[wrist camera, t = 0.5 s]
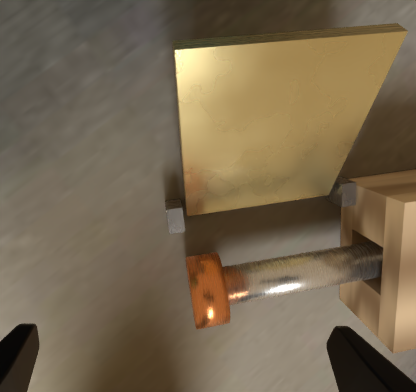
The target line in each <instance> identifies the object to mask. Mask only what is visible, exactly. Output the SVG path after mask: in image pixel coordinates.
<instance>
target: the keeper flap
mask: <svg viewBox="0 0 416 392" xmlns="http://www.w3.org/2000/svg"><path fill="white" fill-rule="evenodd" d="M407 32H408V31H407V30H406V29H404V28H403V27H402V26H400V25H399V24H398V23H395V24H382V25H369V26H356V27H343V28H331V29H318V30H305V31H292V32H279V33H267V34H254V35H241V36H228V37H215V38H203V39H190V40H177V41H172V43H173V55H174V68H175V80H176V93H177V105H178V118H179V130H180V143H181V156H182V168H183V181H184V193H185V206H186V212H187V216H192V215H199V214H206V213H212V212H219V211H226V210H232V209H239V208H246V207H252V206H259V205H266V204H272V203H279V202H286V201H292V200H299V199H306V198H312V197H319V196H326V195H329V193H330V191H331V189H332V187H333V185H334V183H335V181H336V179H337V176H338V174H339V172H340V170H341V168H342V166H343V164H344V162H345V160H346V158H347V156H348V154H349V152H350V150H351V148H352V146H353V143H354V141H355V139H356V137H357V135H358V133H359V131H360V129H361V127H362V125H363V123H364V121H365V119H366V117H367V115H368V113H369V110H370V108H371V106H372V104H373V102H374V100H375V98H376V96H377V94H378V92H379V90H380V88H381V86H382V84H383V82H384V79H385V77H386V75H387V73H388V71H389V69H390V67H391V65H392V63H393V61H394V59H395V57H396V55H397V53H398V51H399V49H400V46H401V44H402V42H403V40H404V38H405V36H406V34H407Z"/></svg>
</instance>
